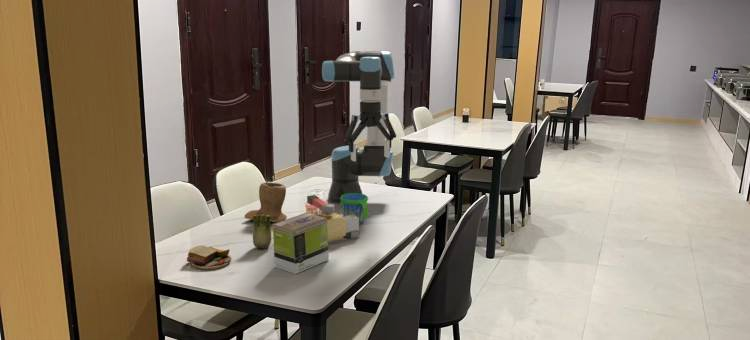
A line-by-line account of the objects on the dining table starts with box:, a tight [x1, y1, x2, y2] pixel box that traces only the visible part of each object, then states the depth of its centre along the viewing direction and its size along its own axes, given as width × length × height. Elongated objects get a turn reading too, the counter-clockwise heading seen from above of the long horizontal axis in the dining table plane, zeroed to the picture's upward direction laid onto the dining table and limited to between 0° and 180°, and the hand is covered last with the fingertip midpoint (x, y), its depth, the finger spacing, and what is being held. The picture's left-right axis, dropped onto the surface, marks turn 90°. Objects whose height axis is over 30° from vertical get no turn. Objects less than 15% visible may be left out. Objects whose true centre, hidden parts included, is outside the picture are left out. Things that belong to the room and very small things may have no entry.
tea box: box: [272, 212, 330, 275], centre depth 191 cm, size 15×10×15 cm, turn 141°
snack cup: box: [339, 193, 369, 225], centre depth 233 cm, size 16×10×10 cm
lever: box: [306, 194, 335, 214], centre depth 216 cm, size 17×4×3 cm, turn 31°
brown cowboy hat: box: [243, 181, 288, 223], centre depth 234 cm, size 15×12×15 cm
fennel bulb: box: [252, 215, 272, 250], centre depth 205 cm, size 6×5×12 cm
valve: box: [315, 211, 360, 245], centre depth 212 cm, size 7×22×10 cm, turn 121°
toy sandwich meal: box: [186, 244, 233, 271], centre depth 193 cm, size 12×14×5 cm
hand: (370, 158), depth 219 cm, fingers open, 13 cm apart
